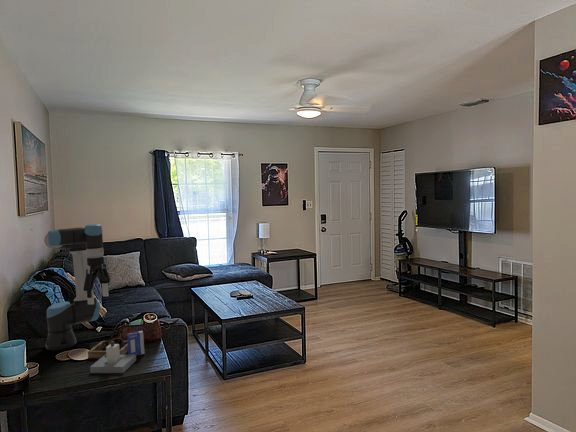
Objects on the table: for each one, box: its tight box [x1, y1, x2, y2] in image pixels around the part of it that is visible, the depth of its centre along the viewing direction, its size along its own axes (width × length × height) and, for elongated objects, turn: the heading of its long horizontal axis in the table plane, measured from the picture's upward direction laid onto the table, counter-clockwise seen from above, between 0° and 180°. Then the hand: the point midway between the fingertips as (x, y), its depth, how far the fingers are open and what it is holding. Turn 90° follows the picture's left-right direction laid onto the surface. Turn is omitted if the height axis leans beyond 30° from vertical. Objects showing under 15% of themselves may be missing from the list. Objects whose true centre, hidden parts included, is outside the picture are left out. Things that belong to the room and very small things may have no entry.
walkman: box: [126, 330, 146, 357], centre depth 219 cm, size 8×3×12 cm, turn 123°
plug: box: [105, 341, 120, 364], centre depth 206 cm, size 4×4×12 cm
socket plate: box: [89, 354, 137, 374], centre depth 206 cm, size 14×16×4 cm
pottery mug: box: [104, 337, 125, 349], centre depth 225 cm, size 12×10×8 cm
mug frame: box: [87, 340, 128, 359], centre depth 224 cm, size 15×17×4 cm
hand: (98, 300), depth 205 cm, fingers open, 13 cm apart
